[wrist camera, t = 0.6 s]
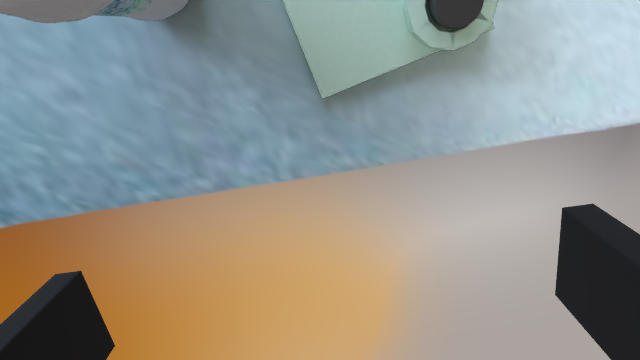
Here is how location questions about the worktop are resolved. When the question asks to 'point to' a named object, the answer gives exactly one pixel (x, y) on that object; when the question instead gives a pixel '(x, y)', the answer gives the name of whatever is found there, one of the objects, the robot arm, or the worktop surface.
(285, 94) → the worktop surface
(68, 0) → the bottle
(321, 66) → the scale
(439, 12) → the button
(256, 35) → the worktop surface
